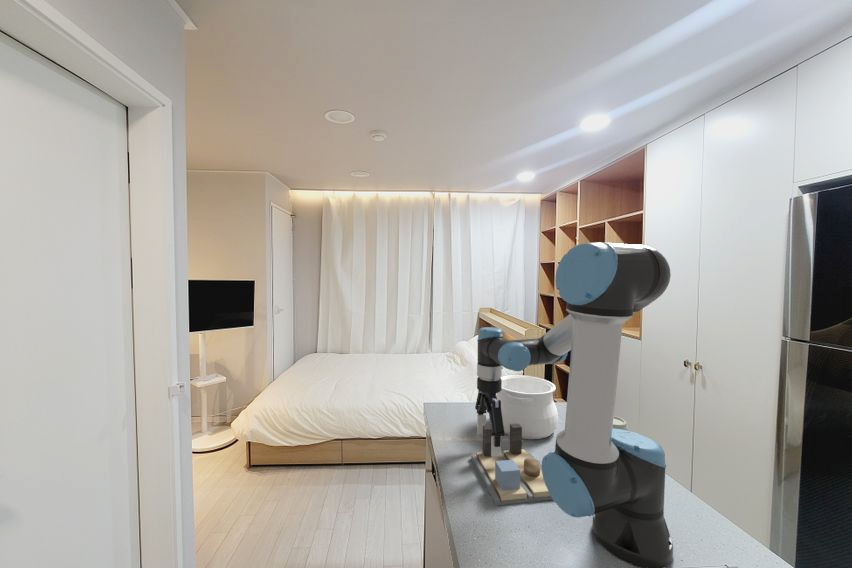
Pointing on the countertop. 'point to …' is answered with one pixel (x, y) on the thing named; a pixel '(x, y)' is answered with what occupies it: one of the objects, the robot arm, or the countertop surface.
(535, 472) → the brown rounded piece
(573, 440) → the robot arm
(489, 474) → the strip
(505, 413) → the pot
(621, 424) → the coffee cup
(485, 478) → the lane board
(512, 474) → the blue block
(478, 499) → the countertop surface
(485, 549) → the countertop surface
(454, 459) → the countertop surface
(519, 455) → the strip
